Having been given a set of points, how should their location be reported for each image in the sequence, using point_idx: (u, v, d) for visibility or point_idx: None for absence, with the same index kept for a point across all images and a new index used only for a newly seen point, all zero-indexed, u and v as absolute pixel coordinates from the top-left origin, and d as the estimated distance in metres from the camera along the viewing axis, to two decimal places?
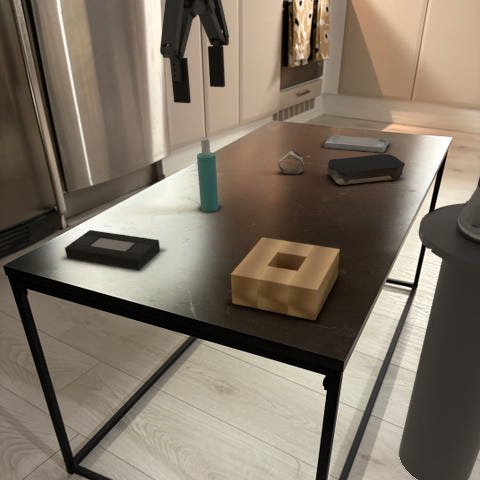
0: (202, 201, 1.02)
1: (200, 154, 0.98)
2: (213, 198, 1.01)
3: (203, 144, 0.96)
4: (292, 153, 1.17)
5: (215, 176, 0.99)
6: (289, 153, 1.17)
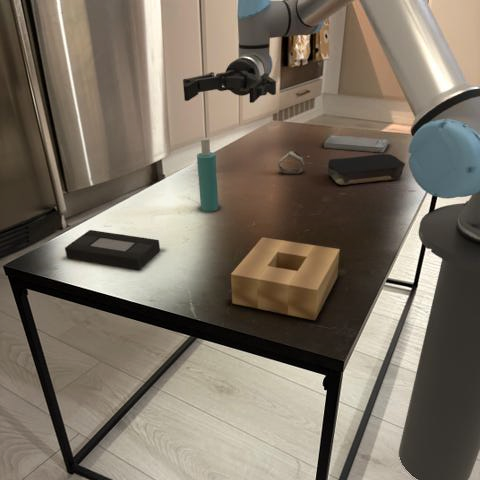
0: (202, 201, 1.02)
1: (200, 154, 0.98)
2: (213, 198, 1.01)
3: (203, 144, 0.96)
4: (292, 153, 1.17)
5: (215, 176, 0.99)
6: (289, 153, 1.17)
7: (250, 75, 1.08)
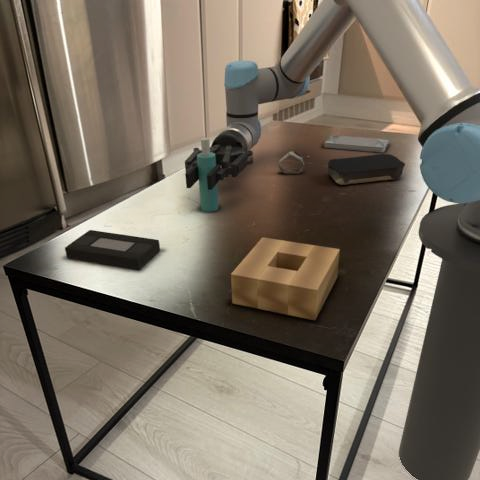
0: (202, 201, 1.02)
1: (200, 154, 0.98)
2: (213, 198, 1.01)
3: (203, 144, 0.96)
4: (292, 153, 1.17)
5: None
6: (289, 153, 1.17)
7: (228, 153, 1.04)
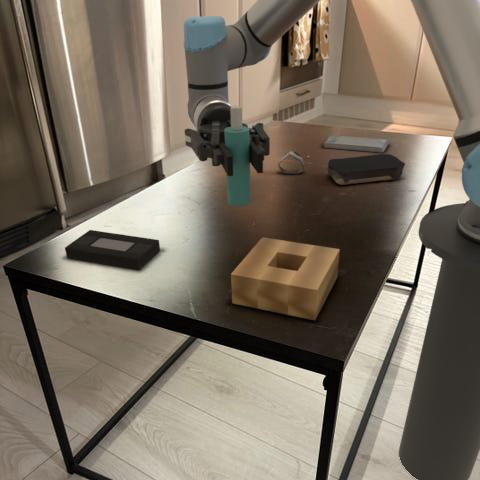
0: (234, 193, 0.76)
1: (229, 129, 0.72)
2: (248, 186, 0.76)
3: (236, 115, 0.70)
4: (292, 153, 1.17)
5: None
6: (289, 153, 1.17)
7: None
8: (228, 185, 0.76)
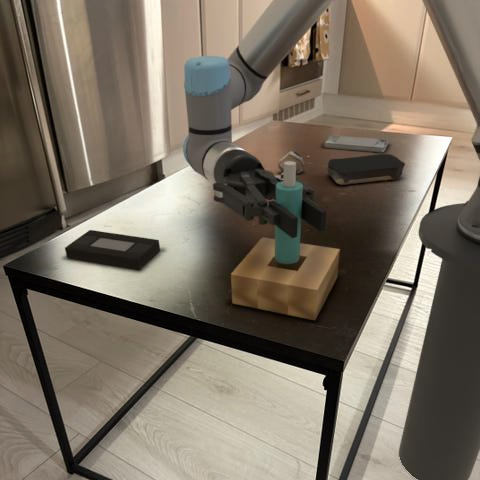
0: (286, 251, 0.71)
1: (281, 186, 0.67)
2: (299, 242, 0.71)
3: (292, 171, 0.65)
4: (292, 153, 1.17)
5: None
6: (289, 153, 1.17)
7: (273, 179, 0.75)
8: (279, 243, 0.71)
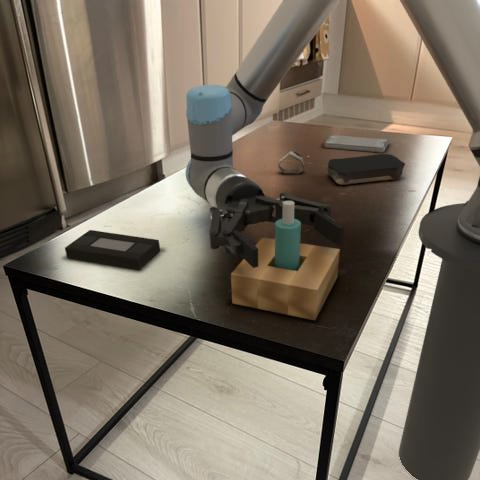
0: None
1: (281, 224, 0.70)
2: None
3: (290, 211, 0.69)
4: (292, 153, 1.17)
5: None
6: (289, 153, 1.17)
7: (280, 202, 0.79)
8: None
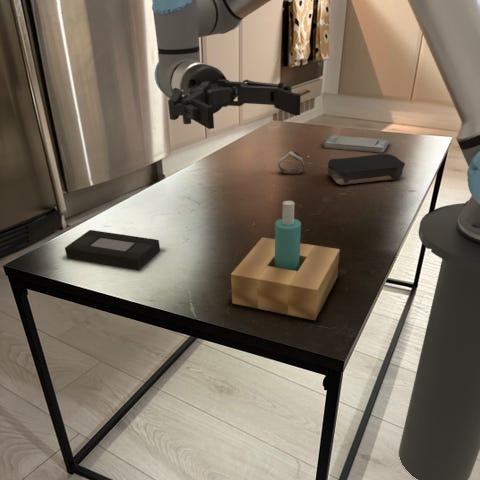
0: None
1: (281, 224, 0.70)
2: None
3: (290, 211, 0.69)
4: (292, 153, 1.17)
5: None
6: (289, 153, 1.17)
7: (242, 83, 0.80)
8: None
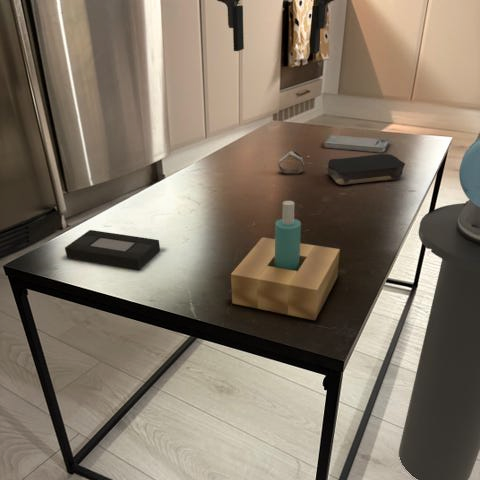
0: None
1: (281, 224, 0.70)
2: None
3: (290, 211, 0.69)
4: (292, 153, 1.17)
5: None
6: (289, 153, 1.17)
7: None
8: None
